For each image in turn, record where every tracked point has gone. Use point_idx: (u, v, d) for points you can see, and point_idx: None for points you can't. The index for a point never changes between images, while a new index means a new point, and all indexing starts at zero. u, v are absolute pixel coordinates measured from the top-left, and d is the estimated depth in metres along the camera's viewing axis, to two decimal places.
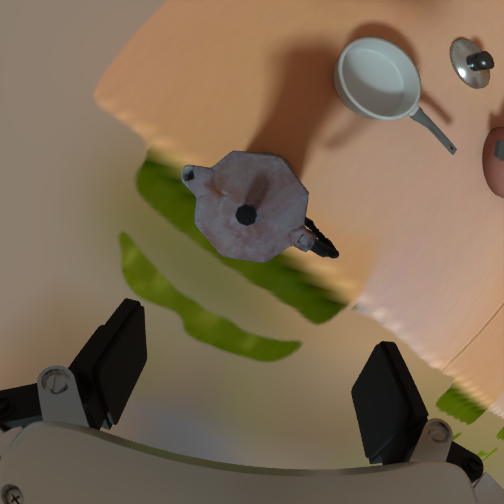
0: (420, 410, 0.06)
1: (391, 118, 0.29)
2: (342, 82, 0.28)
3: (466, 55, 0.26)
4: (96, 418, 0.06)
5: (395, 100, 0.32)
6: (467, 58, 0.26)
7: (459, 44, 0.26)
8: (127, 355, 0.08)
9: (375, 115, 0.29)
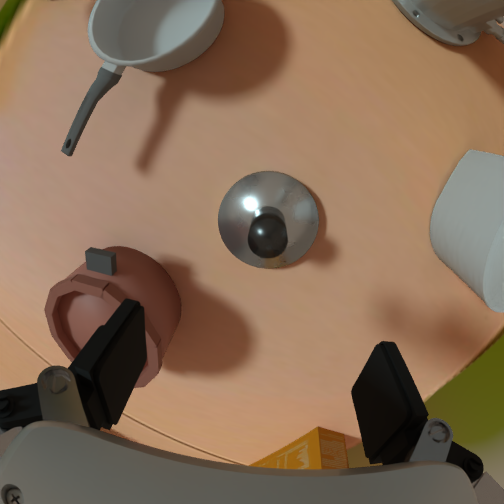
0: (420, 410, 0.06)
1: (90, 33, 0.15)
2: None
3: (279, 207, 0.25)
4: (96, 418, 0.06)
5: None
6: (272, 207, 0.24)
7: (300, 194, 0.24)
8: (127, 355, 0.08)
9: (93, 13, 0.14)
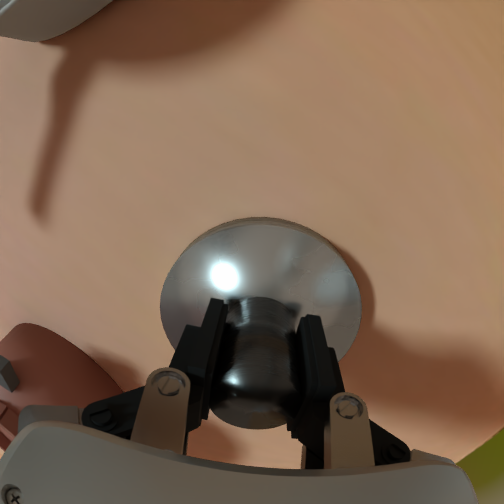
0: (327, 380, 0.08)
1: None
2: None
3: (282, 299, 0.12)
4: (199, 415, 0.08)
5: None
6: (269, 303, 0.11)
7: (329, 272, 0.11)
8: None
9: None
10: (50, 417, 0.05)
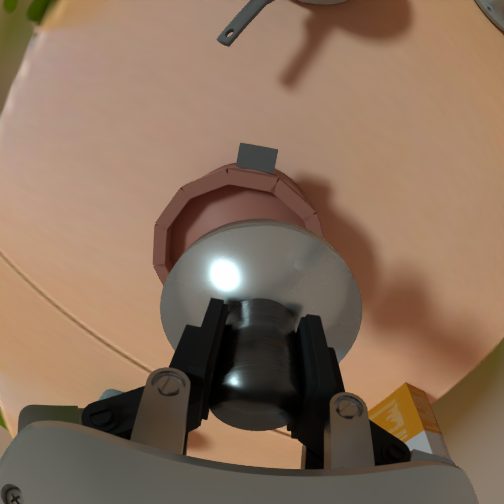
0: (327, 380, 0.08)
1: None
2: None
3: (282, 300, 0.12)
4: (199, 415, 0.08)
5: None
6: (269, 304, 0.11)
7: (329, 274, 0.11)
8: (219, 351, 0.10)
9: None
10: (50, 417, 0.05)
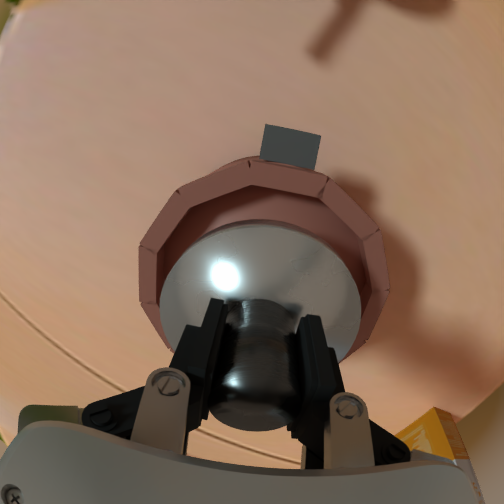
0: (327, 380, 0.08)
1: None
2: None
3: (282, 301, 0.12)
4: (199, 415, 0.08)
5: None
6: (268, 305, 0.11)
7: (329, 274, 0.11)
8: None
9: None
10: (50, 417, 0.05)
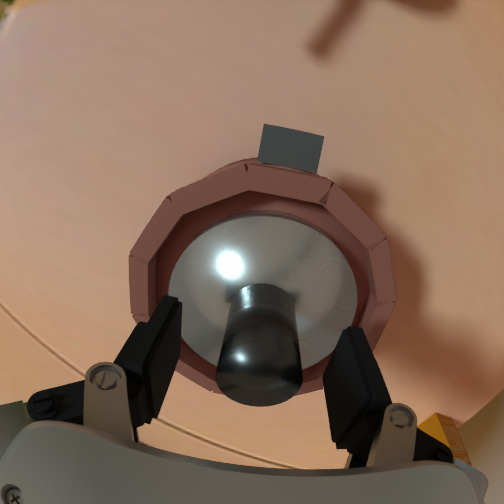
0: (380, 393, 0.07)
1: None
2: None
3: (283, 285, 0.13)
4: (142, 412, 0.07)
5: None
6: (270, 288, 0.12)
7: (326, 260, 0.12)
8: (169, 349, 0.09)
9: None
10: (2, 416, 0.04)
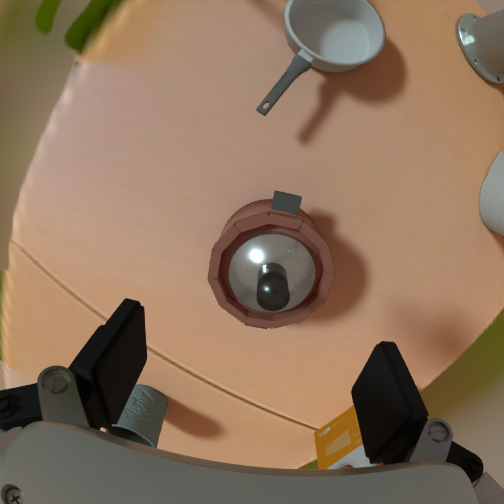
0: (420, 410, 0.06)
1: (287, 24, 0.22)
2: None
3: (281, 264, 0.29)
4: (96, 418, 0.06)
5: None
6: (276, 264, 0.29)
7: (300, 253, 0.29)
8: (127, 355, 0.08)
9: (288, 8, 0.21)
10: None
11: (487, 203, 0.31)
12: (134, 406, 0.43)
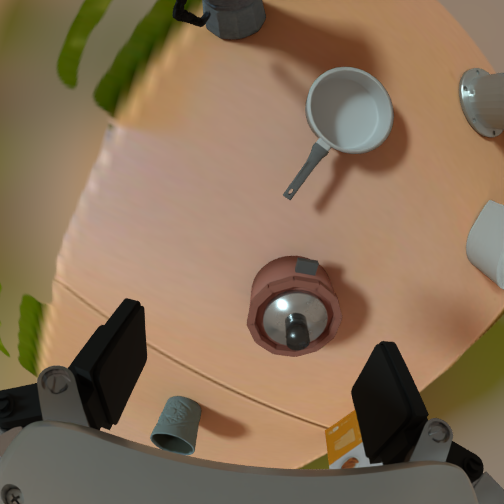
0: (420, 410, 0.06)
1: (309, 114, 0.31)
2: (338, 68, 0.28)
3: (303, 313, 0.38)
4: (96, 418, 0.06)
5: (329, 137, 0.36)
6: (299, 314, 0.38)
7: (317, 306, 0.37)
8: (127, 355, 0.08)
9: (310, 97, 0.30)
10: None
11: (472, 247, 0.39)
12: (175, 415, 0.53)
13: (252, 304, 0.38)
